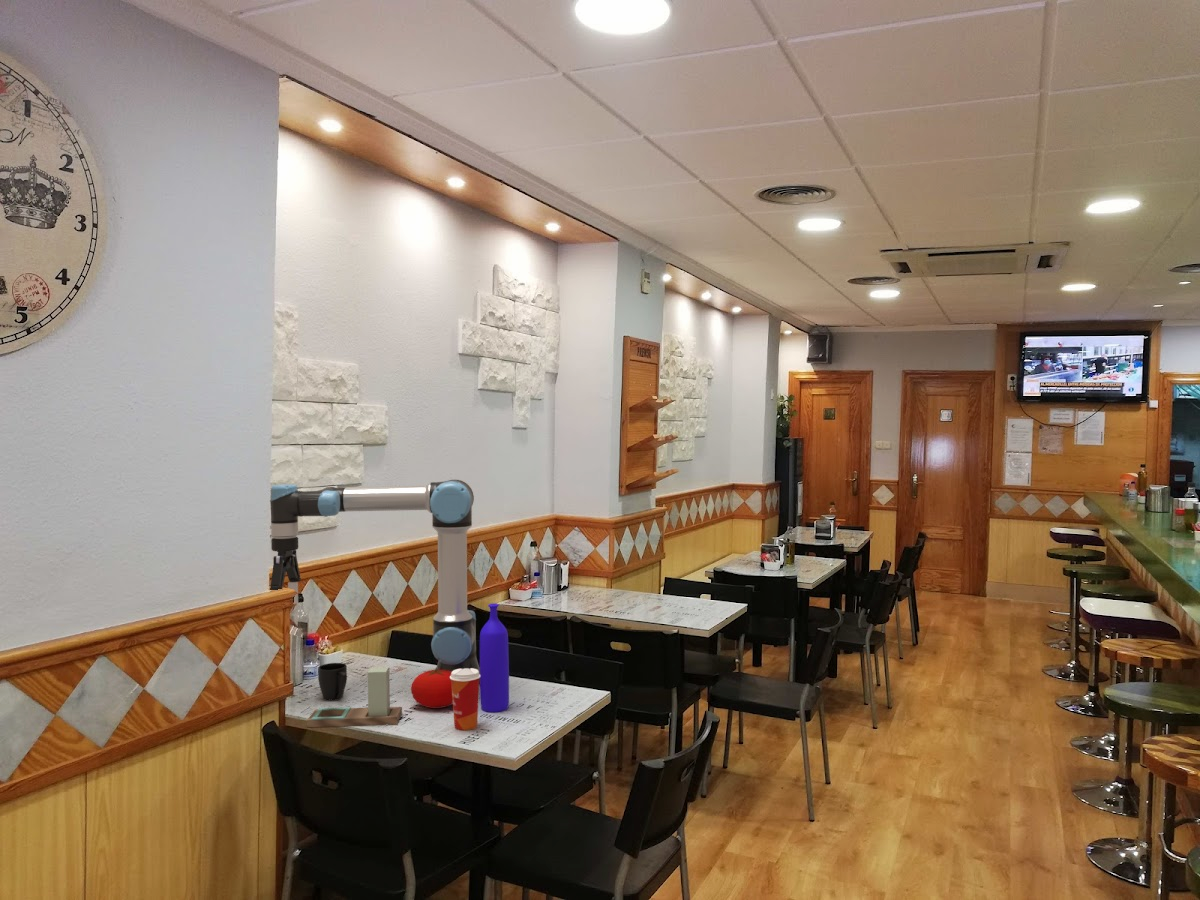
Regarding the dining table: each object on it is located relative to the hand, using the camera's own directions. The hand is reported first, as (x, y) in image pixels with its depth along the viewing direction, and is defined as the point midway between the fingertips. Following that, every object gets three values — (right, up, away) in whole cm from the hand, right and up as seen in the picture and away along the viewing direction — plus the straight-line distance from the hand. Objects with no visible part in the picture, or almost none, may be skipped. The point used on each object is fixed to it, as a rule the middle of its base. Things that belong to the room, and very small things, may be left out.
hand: (286, 608), depth 262 cm
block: (+32, -28, -17) cm, 45 cm away
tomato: (+45, -28, -5) cm, 53 cm away
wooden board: (+25, -28, -17) cm, 41 cm away
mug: (+14, -28, +2) cm, 31 cm away
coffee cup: (+57, -28, -23) cm, 67 cm away
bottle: (+63, -28, -8) cm, 69 cm away
